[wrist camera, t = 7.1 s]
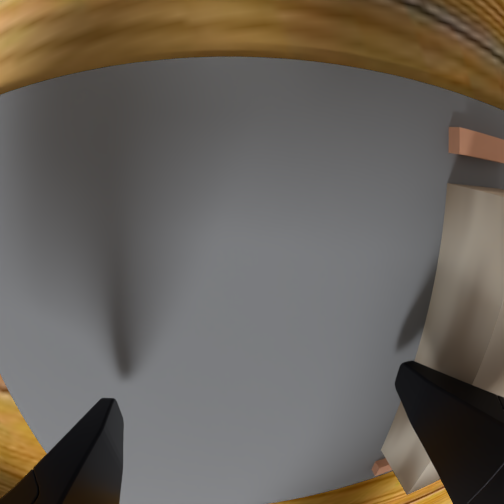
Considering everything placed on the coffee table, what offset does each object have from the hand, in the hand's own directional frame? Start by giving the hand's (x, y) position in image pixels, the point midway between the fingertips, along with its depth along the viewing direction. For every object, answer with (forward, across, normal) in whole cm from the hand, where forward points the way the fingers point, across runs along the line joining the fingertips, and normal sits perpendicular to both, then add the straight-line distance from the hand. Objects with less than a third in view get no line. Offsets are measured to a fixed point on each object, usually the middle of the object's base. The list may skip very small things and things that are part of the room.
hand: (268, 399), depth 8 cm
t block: (+1, -11, 0) cm, 11 cm away
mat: (+1, -5, 0) cm, 5 cm away
